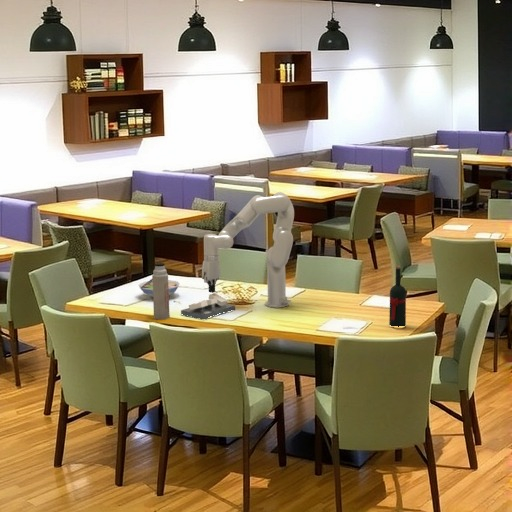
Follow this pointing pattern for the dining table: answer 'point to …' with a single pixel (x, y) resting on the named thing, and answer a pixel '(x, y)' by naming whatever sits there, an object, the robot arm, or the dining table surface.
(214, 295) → the rocker
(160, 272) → the thermos bottle
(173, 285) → the ramen bowl
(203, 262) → the robot arm
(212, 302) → the rocker
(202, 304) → the rocker
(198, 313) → the console
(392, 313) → the wine bottle
